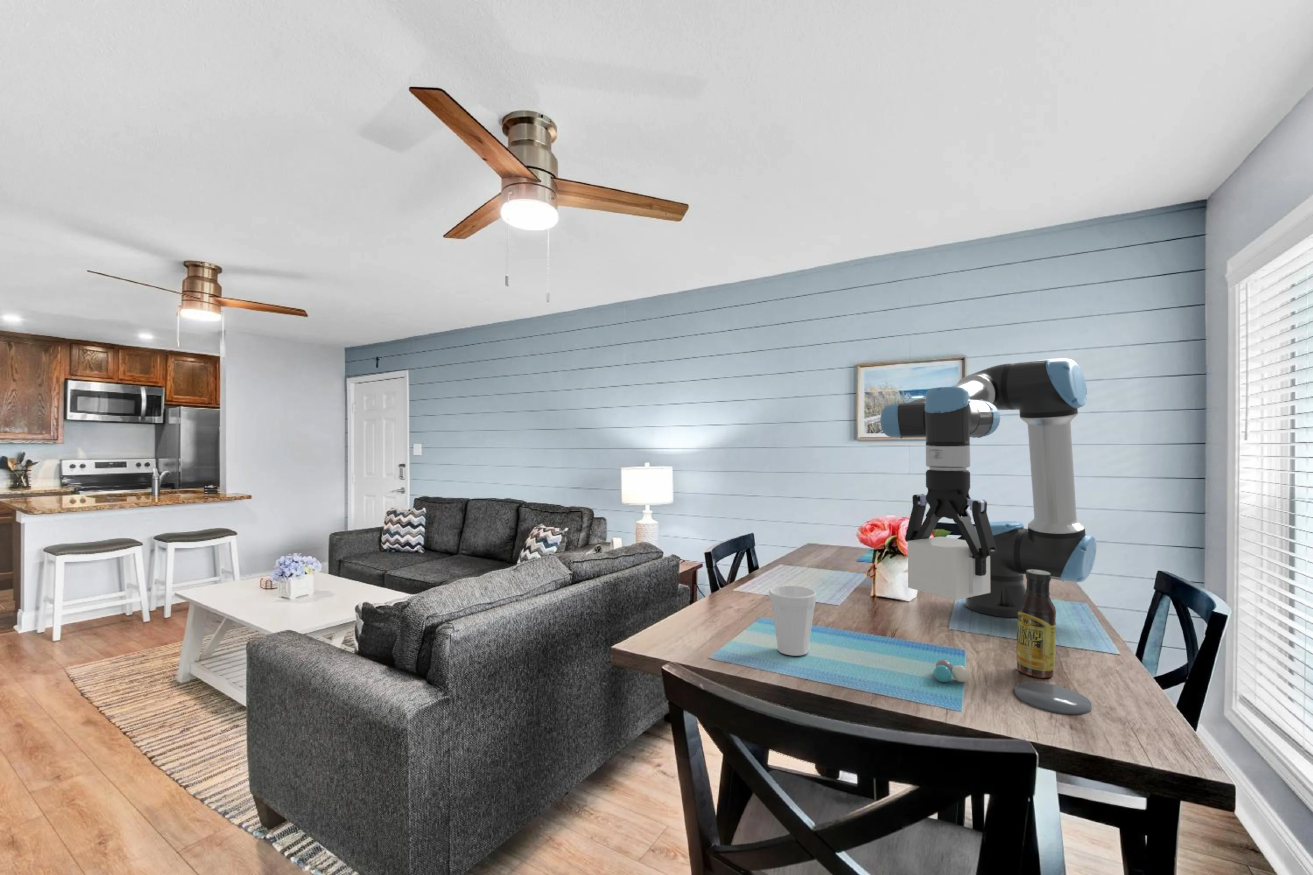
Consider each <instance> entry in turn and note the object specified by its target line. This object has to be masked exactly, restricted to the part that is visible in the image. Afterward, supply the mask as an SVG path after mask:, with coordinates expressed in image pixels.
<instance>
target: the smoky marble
mask: <svg viewBox="0 0 1313 875" xmlns="http://www.w3.org/2000/svg"><path fill="white" fill-rule="evenodd" d="M938 665H944V666H946V667H948V668H949V669H950V671H951V672H952V668H953V667H954V666H953V664H952V663H951V662H950V661H949V660H947V659H944V658H943V659H939V660H937V662H936V664H935V667H937V666H938ZM951 674H952V673H951Z"/></svg>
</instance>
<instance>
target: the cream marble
mask: <svg viewBox="0 0 1313 875" xmlns="http://www.w3.org/2000/svg"><path fill="white" fill-rule="evenodd" d="M951 673H952V676H951V677H952V678H953V679H954V680H955V681H956V682H959V683H966V682H968V680H969V679H970V672H969V670H968V668H967V667H965V666H963V665H962V664H959V665H958V664H957V665H954V666H953V668H952V672H951Z"/></svg>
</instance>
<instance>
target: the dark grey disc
mask: <svg viewBox="0 0 1313 875" xmlns="http://www.w3.org/2000/svg"><path fill="white" fill-rule="evenodd" d="M1014 694H1015V696H1016V697H1017V698H1018V699H1019V700H1021V701H1022V702H1024V703H1025V704H1027V705H1030V706H1032V707H1035V708H1038V709H1040V710H1044V711H1047V712H1051V713H1056V714H1057V713H1058V714H1063V715H1064V714H1065V715H1084V714H1087V713H1089V712H1091V710H1092V701H1091V700H1090V699H1089V698H1088V697H1087V696H1086V695H1084V694H1083V693H1082V694H1081V693H1079V692H1077V691H1075V690H1073V689H1070V688H1067V687H1064V686H1060V685H1056V684H1052V683H1051V684H1050V683H1042V682H1023V683H1019V684H1017V685H1016V686H1015V688H1014Z"/></svg>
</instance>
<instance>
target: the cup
mask: <svg viewBox="0 0 1313 875" xmlns="http://www.w3.org/2000/svg"><path fill="white" fill-rule="evenodd" d="M768 593H769V600H770V603H771V604H770V605H771V611H772V617H773V624H774V632H775V637H776V644H777V651H778V652H780V653H781V654H784V655H787V656H793V657H794V656H804V655H806V654H808V652H809V648H810V640H811V632H812V626H813V619H814V613H815V606H816V602H817V592H816V591H815V590H814V589H813V588H810V587H805V586H801V585H800V586H799V585H788V584H787V585H777V586H774V587H771V588H770V589H769V590H768Z"/></svg>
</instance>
